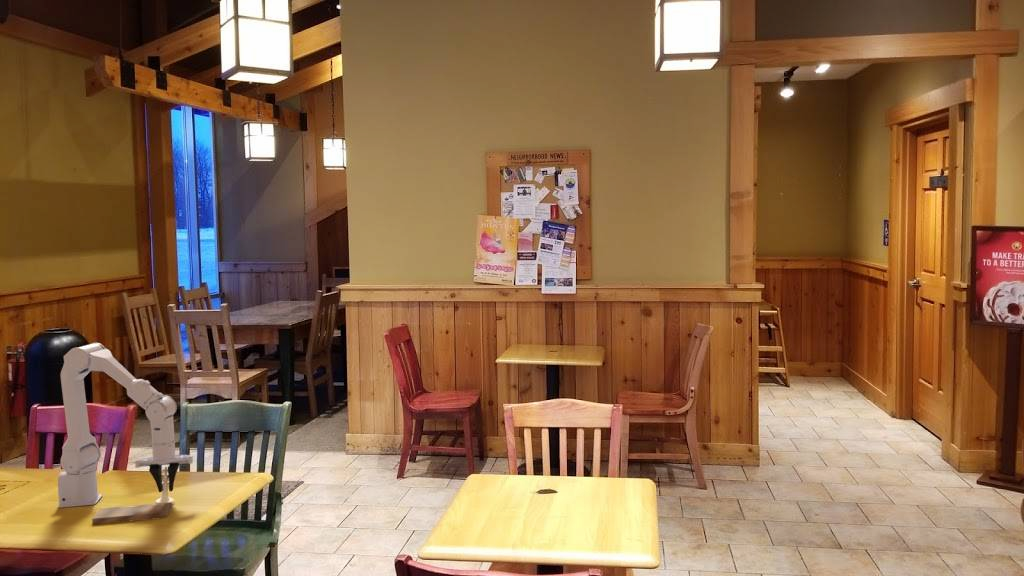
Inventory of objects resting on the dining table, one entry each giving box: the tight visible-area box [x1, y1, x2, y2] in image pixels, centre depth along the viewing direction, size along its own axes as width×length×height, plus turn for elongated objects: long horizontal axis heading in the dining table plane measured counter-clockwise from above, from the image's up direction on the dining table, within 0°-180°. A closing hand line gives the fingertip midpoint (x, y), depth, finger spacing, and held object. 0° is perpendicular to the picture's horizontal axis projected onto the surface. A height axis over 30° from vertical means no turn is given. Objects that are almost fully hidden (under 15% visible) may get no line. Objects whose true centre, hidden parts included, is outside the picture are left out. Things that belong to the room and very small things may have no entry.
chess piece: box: [154, 466, 175, 505], centre depth 236 cm, size 5×5×10 cm
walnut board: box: [91, 502, 173, 525], centre depth 228 cm, size 18×8×2 cm, turn 102°
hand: (166, 490), depth 237 cm, fingers closed on chess piece, 2 cm apart
